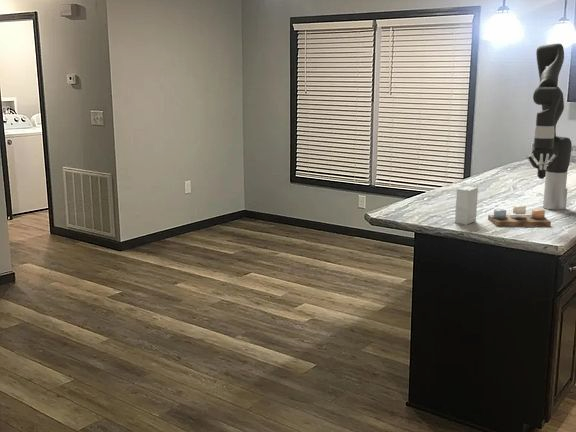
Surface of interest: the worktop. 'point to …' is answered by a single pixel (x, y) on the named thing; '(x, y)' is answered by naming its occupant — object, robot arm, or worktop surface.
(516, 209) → the button cream
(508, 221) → the board
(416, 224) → the worktop surface
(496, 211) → the button slate
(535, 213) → the button terracotta
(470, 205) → the skincare box
